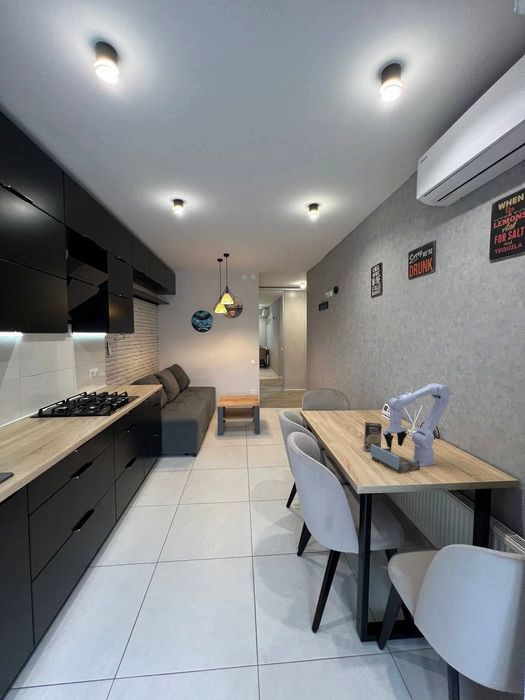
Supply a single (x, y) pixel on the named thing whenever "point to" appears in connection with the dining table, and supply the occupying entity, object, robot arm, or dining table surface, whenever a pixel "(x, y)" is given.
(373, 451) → the bar
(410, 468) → the flatbed
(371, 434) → the coffee box
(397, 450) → the dining table surface
